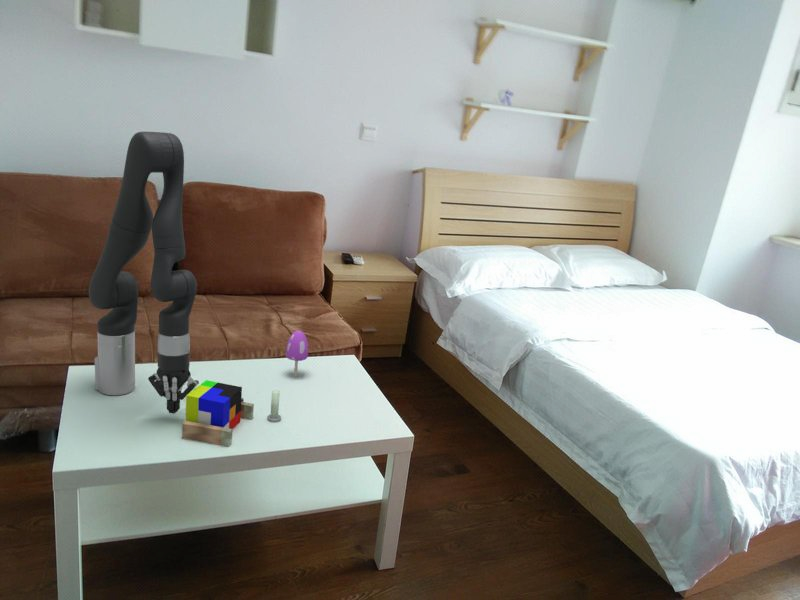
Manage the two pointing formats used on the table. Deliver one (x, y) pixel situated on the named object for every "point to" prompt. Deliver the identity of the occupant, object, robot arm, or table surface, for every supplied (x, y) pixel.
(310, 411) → the table surface
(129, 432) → the table surface
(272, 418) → the goal post
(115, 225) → the robot arm
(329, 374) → the table surface
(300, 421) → the table surface
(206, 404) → the puzzle toy
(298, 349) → the toy
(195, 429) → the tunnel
